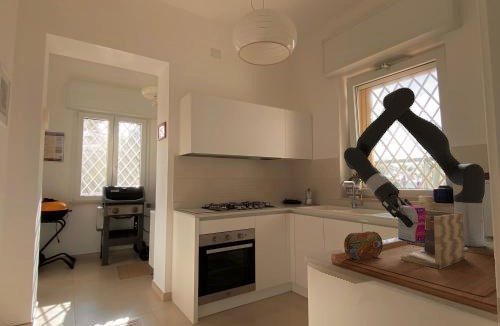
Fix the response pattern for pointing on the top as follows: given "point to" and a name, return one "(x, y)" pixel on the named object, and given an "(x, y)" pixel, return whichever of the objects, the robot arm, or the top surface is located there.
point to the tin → (363, 245)
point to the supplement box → (415, 231)
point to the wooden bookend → (440, 240)
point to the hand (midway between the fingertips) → (416, 225)
